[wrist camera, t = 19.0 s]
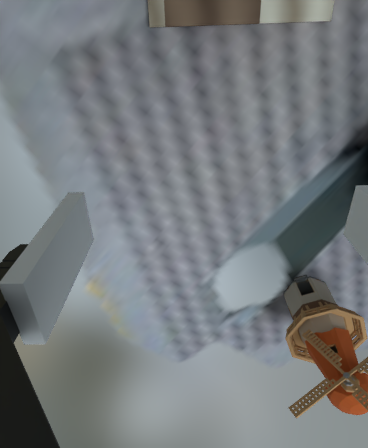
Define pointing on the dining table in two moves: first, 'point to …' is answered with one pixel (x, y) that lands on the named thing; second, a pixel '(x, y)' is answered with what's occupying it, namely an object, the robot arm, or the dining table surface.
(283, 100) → the dining table surface
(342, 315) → the windmill
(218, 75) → the dining table surface
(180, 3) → the board
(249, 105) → the dining table surface
